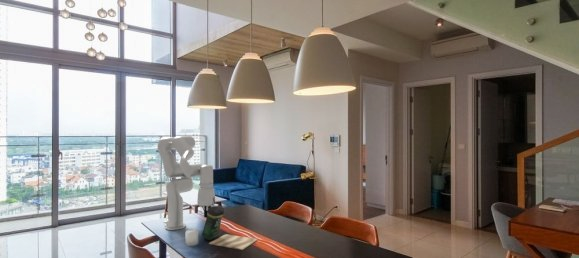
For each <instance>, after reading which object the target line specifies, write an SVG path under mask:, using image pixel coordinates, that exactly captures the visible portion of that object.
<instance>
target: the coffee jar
mask: <svg viewBox="0 0 579 258" xmlns="http://www.w3.org/2000/svg"><path fill="white" fill-rule="evenodd" d="M224 213H225V208H224V207H223V206H221V205H220V204H219V205H215V207H210V208H208V211H207V218H206V219H205V223H204V226H203V229H202V234H201V236H202V237H203V239H205V240H210V241H213V240H216V239H218V238H219V237H220V236H219V234H220V228H221V223H222V219H223V216H224Z"/></svg>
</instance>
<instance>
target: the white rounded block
mask: <svg viewBox="0 0 579 258" xmlns="http://www.w3.org/2000/svg"><path fill="white" fill-rule="evenodd" d="M184 233H185V234H184V235H185V238H184V239H185V243H184V245H185V246H187V247H193V246H196V245H198V244H199V229H194V228H193V229H192V228H191V229H187V230H186V231H185V232H184Z"/></svg>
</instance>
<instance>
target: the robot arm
mask: <svg viewBox="0 0 579 258" xmlns="http://www.w3.org/2000/svg"><path fill="white" fill-rule="evenodd" d="M195 146H196V140H195V138H194V137H193V136H190V135H182V136H181V135H180V136H170V137H168V136H167V137H162V138H160V139H159V140H158V142H157V151H158V154H159V156H160V158H161V162H162V165H163V170H164V173H165V176H166V178H168V179H170V180H169V181H167V182H166V184H165V189H166V196H167V219H165V220H164V221H163V223H164V224H166V225H165V227H164V228H165V230H167V231H176V230H181V229H184V228H186V223H184V200H183V197H182V195H181V193H182V194H184V193H189V192H190V191H192V190H193V188H194V181H193V178H198V177H199V184H198V186H199V188H198V191H197V200H196V202H197V203H196V204H197V205H198V206H199V207H200V208H202V211H203V217H204V218H206V219H207V211H208V208H210V207H215V206H216V191H215V188H214V167H213V165H211V164H205V163H197V164H190V163H189V160H190V159H192V158H193V156H194V155H195V151H194V149H193V148H194V147H195ZM172 150H175V151H177V153H178V155H179V157H180V159H179V162H178V161H177V159H176V156H175V154H174V153H173V152H172Z"/></svg>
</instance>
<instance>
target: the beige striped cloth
mask: <svg viewBox="0 0 579 258" xmlns="http://www.w3.org/2000/svg"><path fill="white" fill-rule="evenodd" d="M257 241H258V238H253V237H247V236H242V235H241V236H240V235H234V234H227V233H226V234H223V235H222V236H218V237H217V238H215V239H213V240H211V241H210V242H209V243H208V245H211V246H217V247H218V246H219V247H224V248H228V249H236V250H241V251H243V250H245V249H246V248H248V247H249V246H251V245H252V244H254V243H255V242H257Z"/></svg>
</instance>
